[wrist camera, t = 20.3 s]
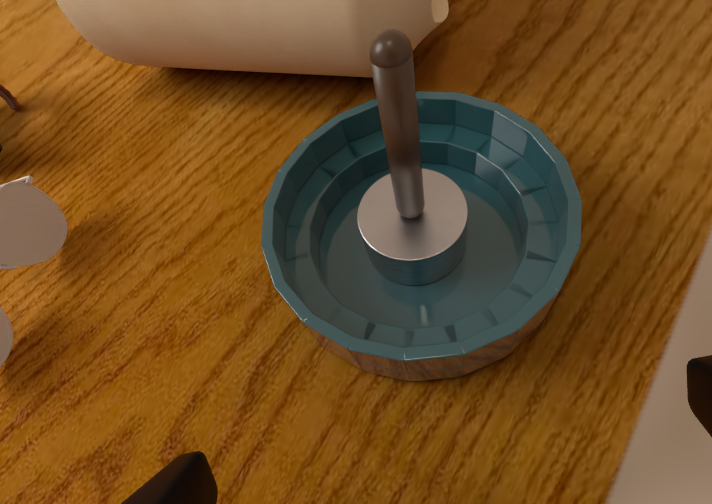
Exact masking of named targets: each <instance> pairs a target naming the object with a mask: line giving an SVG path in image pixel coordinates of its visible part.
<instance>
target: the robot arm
mask: <svg viewBox="0 0 712 504" xmlns="http://www.w3.org/2000/svg"><path fill="white" fill-rule="evenodd" d="M687 388H688V402H689V405H690V408H691V410H692V412H693V413H694V415H695V416H696V417H697V419H698V420H699V421H700V423H701V424H702V425H703V426H704V428H705V429H706V430H707V432H708V433H709V434H710V436H711V437H712V355H710V356H705V357H699V358H694V359H691V360H690V361H689V362H688V364H687ZM217 495H218V491H217V485H216V482H215V479H214V476H213V474H212V471H211V469H210V466H209V464H208V461H207V459H206V457H205V455H204V454H203V453H202V452H200V451H196V452H191V453H186V454H181V455H179V456H178V457H177V458H175V459H174V460H173V461H172V462H171V463H169V464H168V465H167V466H166V467H165V468H163V469H162V470H161V471H160V472H159V473H157V474H156V475H155V476H154V477H153V478H151V479H150V480H149V481H148V482H146V483H145V484H144V485H143V486H142V487H140V488H139V489H138V490H137V491H136V492H134V493H133V494H132V495H131V496H130V497H128V498H127V499H126V500H125V501H124V502H122V503H121V504H216V502H217Z"/></svg>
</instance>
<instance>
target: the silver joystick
mask: <svg viewBox="0 0 712 504" xmlns="http://www.w3.org/2000/svg"><path fill="white" fill-rule="evenodd" d="M369 59H370V64H371V70H372V75H373V81H374V86H375V92H376V97H377V103H378V109H379V114H380V120H381V125H382V131H383V136H384V142H385V147H386V153H387V158H388V164H389V169H390V173H389V174H387V175H385V176H383V177H382V178H380V179H378V180H377V181H376V182H375V183H373V184H372V185H371V186H370V187H369V189H368V190H367V191H366V192H365V194H364V196H363V197H362V199H361V201H360V204H359V207H358V212H357V223H358V228H359V231H360V234H361V237H362V240H363V243H364V246H365V249H366V252H367V254H368V257H369V260H370V262H371V263H372V265H373V266H374V268H375V269H376V270H377V271H378V272H379V273H380V274H381V275H383V276H384V277H386V278H387V279H389V280H391V281H394V282H396V283H400V284H404V285H425V284H429V283H432V282H435V281H438V280H440V279H442V278H443V277H445V276H446V275H448V274H449V273H450V272H451V271H453V270H454V268H455V267H456V266H457V265H458V264H459V262H460V261H461V259H462V257H463V254H464V251H465V247H466V238H467V225H468V205H467V201H466V198H465V196H464V194H463V192H462V190H461V189H460V188H459V186H458V185H457V184H456V183H455V182H454V181H453V180H451V179H450V178H449V177H447V176H445V175H444V174H442V173H439V172H437V171H434V170H430V169H425V168H422V163H421V150H420V138H419V125H418V113H417V100H416V87H415V75H414V62H413V50H412V45H411V42H410V40H409V38H408V37H407V36H406V35H405V34H404V33H403V32H401V31H399V30H395V29H387V30H384V31H382V32H380V33H379V34H377V35H376V37H375V38H374V39H373V41H372V43H371V45H370V49H369Z"/></svg>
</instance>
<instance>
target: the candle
mask: <svg viewBox="0 0 712 504" xmlns="http://www.w3.org/2000/svg"><path fill="white" fill-rule="evenodd" d="M56 2H57V3H58V5H59V7H60V8H61V10H62V11H63V13H64V14H65V16H66V17H67V19H68V20H69V21H70V23H71V24H72V25H73V26H74V28H75V29H76V30H77V31H78V32H79V33H80V34H81V35H82V36H83V37H84V38H85V39H86V40H87V41H88V42H89V43H90V44H91V45H93V46H94V47H95V48H96V49H98V50H99V51H101V52H102V53H104V54H106V55H107V56H109V57H112V58H114V59H116V60H119V61H122V62H126V63H130V64H134V65H142V66H155V67H172V68H192V69H212V70H232V71H252V72H272V73H292V74H313V75H333V76H353V77H373V75H372V70H371V64H370V59H369V49H370V45H371V43H372V41H373V39H374V38H375V37H376V35H377V34H379V33H380V32H382V31H384V30H387V29H395V30H399V31H401V32H403V33H404V34H405V35H406V36H407V37H408V38H409V40H410V42H411V45H412V50H414V49H415V48H416V47H417V45H418V44H419V43H420V42H421V41H422V40H423V39H424V38H425V37H426V36H427V35H428V34H429V33H430V32H431V31H432V30H434V29H435V28H436V27H437V26H438V25H440V24H441V23H442V22H443V21H445V19H446V18H447V16H448V11H449V7H448V0H56Z"/></svg>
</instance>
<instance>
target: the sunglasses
mask: <svg viewBox="0 0 712 504" xmlns="http://www.w3.org/2000/svg"><path fill="white" fill-rule="evenodd" d="M33 179H34V178H33V177H31V176H25V177H23V178H20V179H17V180H14V181H11V182H8V183H6V184H3V185H0V270H13V269H16V268H17V267H18V266H27V265H34V264H38V263H41V262H43V261H46V260H48V259H50V258H51V257H53V256H54V255H55V254H56V253H57V252H58V251H59V250H60V249H61V247H62V246H63V244H64V242H65V239H66V235H67V223H66V219H65V216H64V214H63V212H62V211H61V209H60V208H59V207H58V205H57V204H56V203H55V202H54V201H53V200H52V199H51V198H50V197H49V196H48V195H47V194H45V193H44V192H43V191H41V190H40V189H38V188H37V187H35V186H33V185H31V183H32V181H33ZM25 180H26V182H22V181H25ZM12 342H13V331H12V327H11V323H10V321H9V319H8V317H7V315H6V313H5V312H4V310H3V309H2V308H1V307H0V367H1V366H2V364H3V363H4V362H5V360H6V359H7V357H8V355H9V353H10V350H11V347H12Z"/></svg>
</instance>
